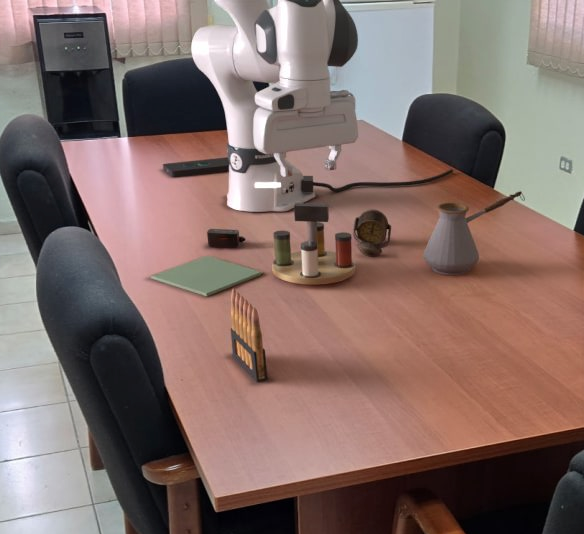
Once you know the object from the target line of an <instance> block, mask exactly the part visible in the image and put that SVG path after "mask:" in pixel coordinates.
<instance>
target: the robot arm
mask: <svg viewBox="0 0 584 534" xmlns="http://www.w3.org/2000/svg"><path fill="white" fill-rule="evenodd" d="M213 1H214V3H215V4H216V5H217V6H218V7H219V8H221V10H223V11H225V12H226V13H227V14H228V16H230V18H231V19H232V20H233V22H234V24H235V25H230V24H229V25H228V24H213V25H206V26H201V27H199V28H198V29H197V30H196V32H194V35H193V37H192V40H191V44H190V45H191V46H190V50H191V56H192V59H193V62H194V65H195V66H196V68H198V70H199V71H201V72H202V73H203V74H204V75H205V77H207V78H208V79H209V81H210V83H211V84H212V85H213V87H214V88H215V90H216V92H217V94H218V96H219V98H220V101H221V104H222V107H223V110H224V115H225V123H226V130H227V137H228V138H227V139H228V142H227V143H226V152H227V157H228V160H229V163H230V165H229V171H228V192H227V193H226V199H227V201H226V205H227V207H229V208H231V209H233V210H237V211H241V212H251V213H262V212H288V211H290V210H292V209H294V205H295V203H306V202H308V201H310V200H312V199H314V198H316V193H315V192H314V187H320V188H321V187H322V188H327V189H328V190H330V192H332V193H340V192H342V191H345V190H348V189H350V188H354V187H355V188H356V187H405V186H406V187H407V186H414V185H415V186H416V185H421V184H426V183H431V182H433V181H437V180H440V179H442V178H444V177H446V176H449V175H451V174H452V173H454V170H453V169H448V170H446V171H445V172H443V173H440V174H438V175H435V176H431V177H428V178H424V179H418V180H411V181H409V180H408V181H391V182H388V181H387V182H384V181H383V182H378V181H376V182H375V181H358V182H351V183H348V184H346V185H343V186H341V187H333V186H332V185H330V184H328V183H325V182H316V181H314V175H304V173H303V172H302V171H301V170H300V169H299V168H297V167H296V166H295V165H294V164H292V163H291V162H290V161H288V160H287V153H289V152H296V151H303V150H311V149H312V150H313V149H319V148H327V147H328V149H329V150H330V152H329V156H328V158H325V159H324V168H325V170H327V171H334V170H337V160H338V158H339V157H340V155H341V152H342V145H348V144H354V143H356V142H357V140H358V138H359V129H358V128H359V126H358V119H357V113H356V97H355V96H354V94H353V93H352V92H350V91H349V90H348V89H343V90H331V73H330V70H329V67H336V68H343V67H344V66H345V65H346V64H347V63H349V61H350V60H351V59H352V58H353V56H354V55H355V54H356V52H357V50H358V45H359V34H358V29H357V26H356V22H355V21H354V19H353V17H352V16H351V14H350V12H349V11H348V10H347V8H345V6H344V5H343V3H342V2H341V1H340V0H277V4H276V5H275V6H273V7H270V5H269V2H268V0H213ZM254 82H257V83H266V84H271V85H269V86H267V87H266V88H264V89H261V90H259V91H258V90H257V89H256V86H255V85H254Z"/></svg>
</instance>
